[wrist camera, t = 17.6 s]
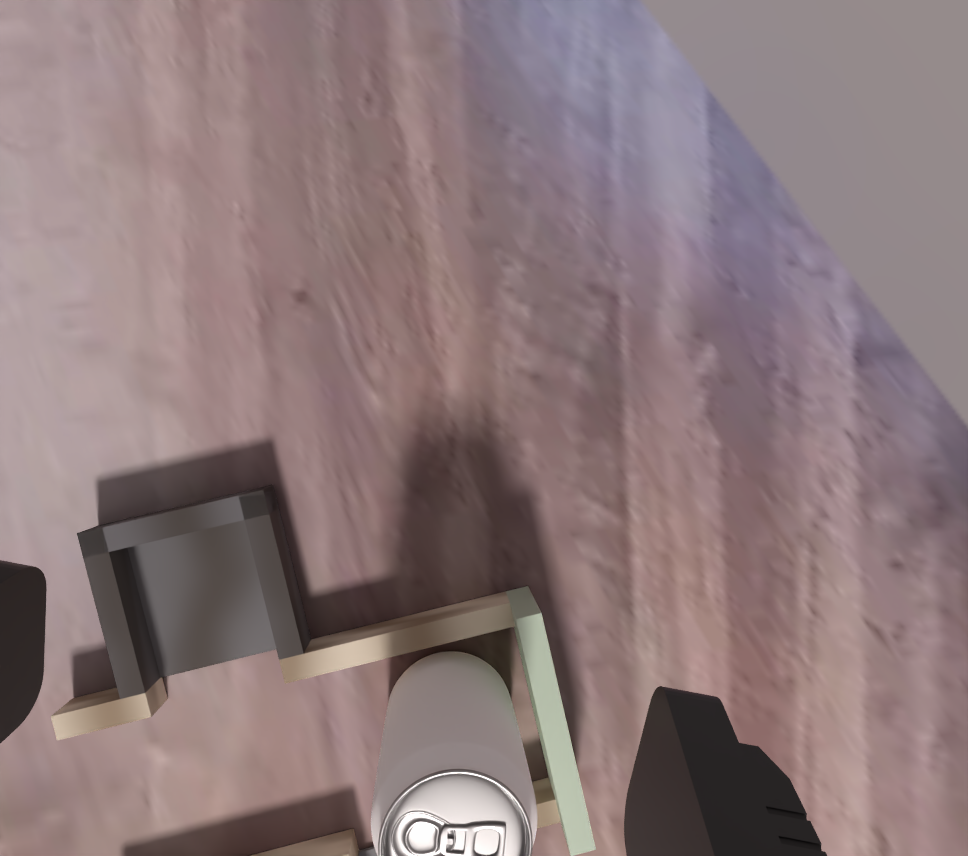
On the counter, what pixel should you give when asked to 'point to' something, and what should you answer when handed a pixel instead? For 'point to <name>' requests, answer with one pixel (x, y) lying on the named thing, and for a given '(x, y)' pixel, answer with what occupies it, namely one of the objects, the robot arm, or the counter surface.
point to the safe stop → (551, 720)
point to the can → (452, 765)
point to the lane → (235, 619)
